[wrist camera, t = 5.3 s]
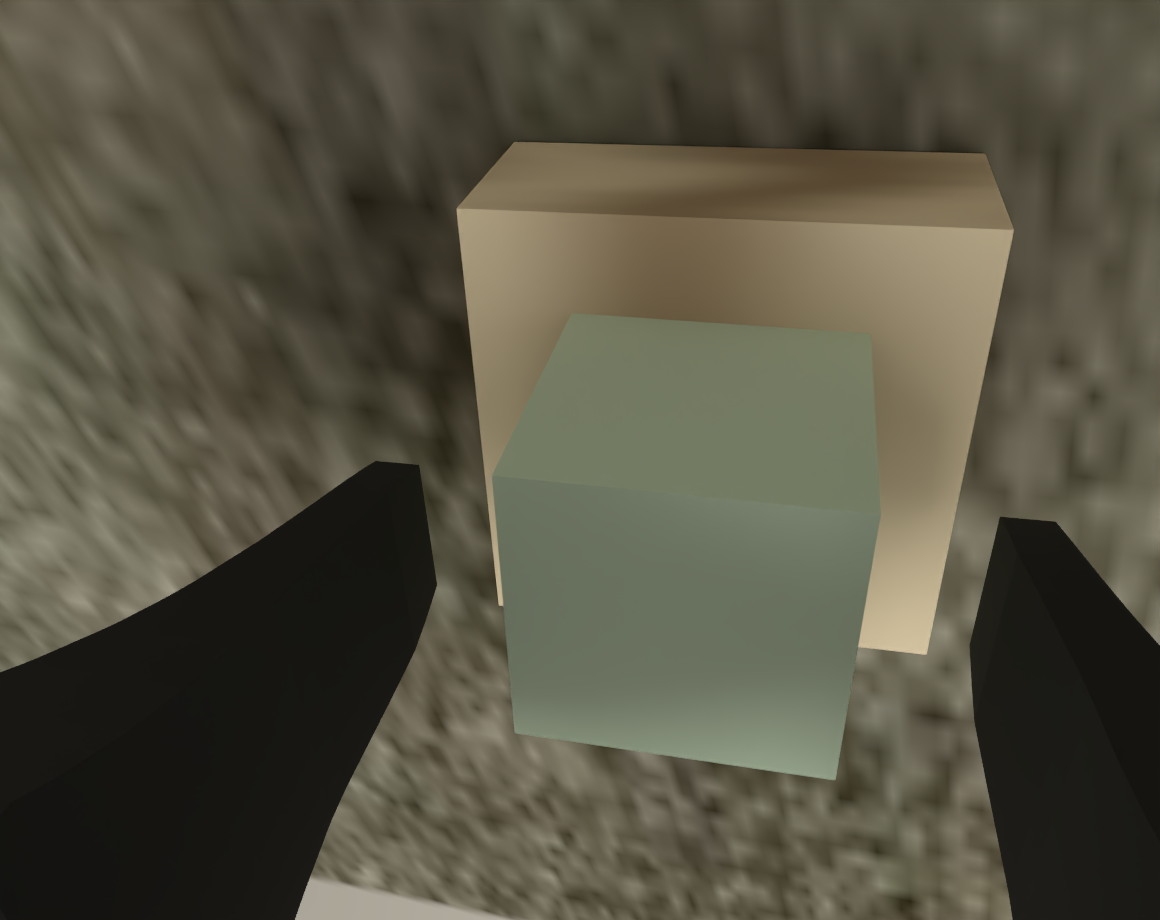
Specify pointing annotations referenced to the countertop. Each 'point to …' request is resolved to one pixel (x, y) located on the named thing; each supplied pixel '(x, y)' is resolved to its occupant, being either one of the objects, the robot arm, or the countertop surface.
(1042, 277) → the countertop surface
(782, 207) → the maple block
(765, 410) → the sage block
